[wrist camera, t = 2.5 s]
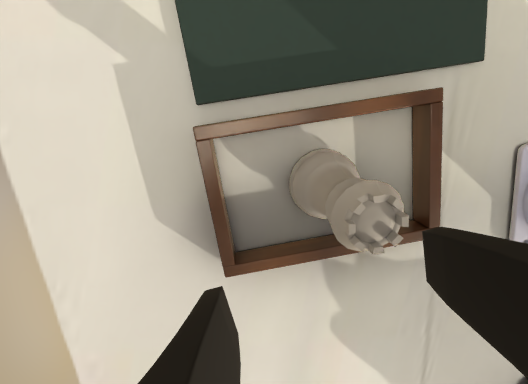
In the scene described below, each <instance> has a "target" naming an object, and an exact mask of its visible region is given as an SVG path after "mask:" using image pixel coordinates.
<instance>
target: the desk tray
mask: <svg viewBox="0 0 528 384" xmlns="http://www.w3.org/2000/svg"><path fill="white" fill-rule="evenodd" d="M442 101H443V88H435V89H428V90H421V91H415V92H409V93H402V94H396V95H390V96H383V97H377V98H371V99H365V100H358V101H352V102H346V103H339V104H333V105H327V106H320V107H314V108H308V109H301V110H295V111H289V112H283V113H276V114H270V115H264V116H257V117H251V118H245V119H238V120H232V121H226V122H220V123H213V124H207V125H201V126H195V127H193V131H194V136H195V140H196V146H197V150H198V155H199V160H200V164H201V169H202V173H203V178H204V183H205V187H206V192H207V196H208V201H209V206H210V210H211V215H212V220H213V224H214V229H215V233H216V238H217V243H218V247H219V252H220V256H221V261H222V266H223V270H224V274H225V277H231V276H236V275H242V274H247V273H252V272H257V271H263V270H268V269H273V268H279V267H284V266H289V265H294V264H300V263H305V262H310V261H316V260H321V259H326V258H332V257H337V256H342V255H347V254H353V253H358V252H359V251H355V250H351V249H348V248H346V247H345V246H344V245H342V244H341V243H340V242H339V241H337V239H336V237H335V235H334V234H332V235H327V236H322V237H316V238H311V239H305V240H300V241H295V242H289V243H284V244H278V245H273V246H267V247H262V248H257V249H251V250H246V251H240V252H235V248H234V243H233V238H232V233H231V228H230V223H229V218H228V213H227V208H226V203H225V198H224V193H223V188H222V183H221V178H220V173H219V168H218V163H217V158H216V153H215V148H214V143H213V139H214V138H220V137H226V136H232V135H238V134H245V133H251V132H257V131H263V130H269V129H276V128H282V127H288V126H294V125H300V124H307V123H313V122H319V121H325V120H331V119H338V118H344V117H350V116H356V115H362V114H368V113H375V112H381V111H387V110H393V109H399V108H406V107H412V119H413V219H414V220H409V227H402V226H400V229H399V231H398V233H397V234H399V235H400V236H402V237H403V239H402V240H401V242H400V243H399V244H398V245H400V244H406V243H411V242H416V241H422V240H423V236H422V231H425V230H429V229H432V228H436V227H439V226H440V208H441V163H442V117H443V102H442ZM390 246H393V245H392V244H391V243H390V242H389V243H387V244H385V245H383V248H385V247H390Z"/></svg>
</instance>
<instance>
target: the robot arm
mask: <svg viewBox="0 0 528 384" xmlns="http://www.w3.org/2000/svg"><path fill="white" fill-rule="evenodd" d="M422 236H423V246H424V257H425V268H426V278H427V282H428V283H429V284H430V286H431V287H432V288H433V289H434V290H435V292H436V293H437V294H438V295H439V296H440V297H441V298H442V300H443V301H444V302H445V303H446V304H447V305H448V306H449V307H450V308H451V309H452V310H453V311H454V312H455V313H456V314H457V315H459V316H460V317H461V318H462V319H463V320H464V321H465V322H466V323H467V324H468V325H469V326H471V327H472V328H473V329H474V330H475V331H476V332H477V333H478V334H479V335H481V336H482V337H483V338H484V339H485V340H486V341H487V342H488V343H489V344H491V345H492V346H493V347H494V348H495V349H496V350H497V351H498V352H499V353H500V354H502V355H503V356H504V357H505V358H506V359H507V360H508V361H509V362H510V363H512V364H513V365H514V366H515V367H516V368H517V369H518V370H519V371H520V372H521V373H522V374H523V375H524V376H525V377H526V378H527V379H528V143H527V144H523V145H522V146H520V148H519V149H518V152H517V163H516V173H515V184H514V194H513V204H512V215H511V225H510V236H509V240H507V239H502V238H497V237H493V236H488V235H483V234H478V233H473V232H468V231H463V230H458V229H452V228H445V227H436V228H432V229H429V230H425V231H422ZM240 368H241V362H240V349H239V337H238V332H237V329H236V326H235V323H234V320H233V317H232V314H231V311H230V308H229V305H228V302H227V299H226V296H225V293H224V290H223V287H222V286H221V287H217V288H213V289H210V290H206V291H205V292H204V293H203V294H202V296H201V297H200V299H199V300H198V302H197V304H196V305H195V307H194V308H193V310H192V311H191V313H190V314H189V316H188V317H187V319H186V320H185V322H184V323H183V325H182V326H181V328H180V329H179V331H178V332H177V334H176V335H175V336H174V338H173V339H172V341H171V342H170V343H169V345H168V346H167V347H166V349H165V350H164V351H163V353H162V354H161V355H160V357H159V358H158V359H157V361H156V362H155V363H154V365H153V366H152V367H151V368H150V370H149V371H148V372H147V373H146V374H145V376H144V377H143V378H142V379H141V381H140V382H139V383H138V384H240Z"/></svg>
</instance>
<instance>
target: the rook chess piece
mask: <svg viewBox="0 0 528 384" xmlns="http://www.w3.org/2000/svg"><path fill="white" fill-rule="evenodd" d="M289 188H290V194H291V196H292V198H293V200H294V202H295V204H296V205H297V206H299V208H300V209H302V210H303V211H304V212H306V213H307V214H308V215H310V216H313V217H317V218H321V219H328V221H329V223H330V225H331V227H332V231H333V233H334V235H335V237H336V239H337V241H339V242H340V243H341V244H342V245H344V246H345V247H346V248H348V249H351V250H355V251H359V252H364V251H370V252H371V253H372V254H379V253H384V248H383V245H385V244H387V243H389V242H390V243H391V244H392V245H393V246H395V247H396V246H397V245H398V244H399V243H400V242H401V240H402V239H403V237H402V236H400V235H399V234H397V233H398V231H399V229H400V226H402V227H409V215H407V214H405V213H404V206H405V205H404V204H403V202H402V199H401V197H400V194H399V193H398V192H397V191H396V190H395V189H394V188H393V187H392V186H391V185H390V184H388V183H384V182H381V181H378V180H365V179H362V178H360V176H359V173H358V171H357V169H356V167H355V165H354V163H353V162H351V161H350V160H349V159H348V158H347V157H346V156H345V155H342V154H341V153H340V152H336V151H333V150H330V149H321V150H314V151H312V152H310V153H308V154H307V155H305V156H303V157H302V158H301V159H300V160H299V161H298V162H297V164H296V165H295V166H294V167H293V170H292V173H291V176H290V179H289Z"/></svg>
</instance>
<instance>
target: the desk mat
mask: <svg viewBox="0 0 528 384" xmlns="http://www.w3.org/2000/svg"><path fill="white" fill-rule="evenodd" d="M487 2H488V0H175V3H176V8H177V13H178V18H179V23H180V27H181V32H182V37H183V42H184V47H185V51H186V56H187V61H188V66H189V71H190V75H191V80H192V85H193V90H194V95H195V99H196V104H197V105H201V104H207V103H214V102H220V101H227V100H233V99H240V98H246V97H253V96H259V95H266V94H272V93H279V92H285V91H291V90H298V89H304V88H311V87H317V86H324V85H330V84H337V83H343V82H350V81H356V80H363V79H369V78H376V77H382V76H388V75H395V74H401V73H408V72H414V71H421V70H427V69H434V68H440V67H447V66H453V65H460V64H466V63H473V62H479V61H483V60H484V53H485V36H486V19H487Z"/></svg>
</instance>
